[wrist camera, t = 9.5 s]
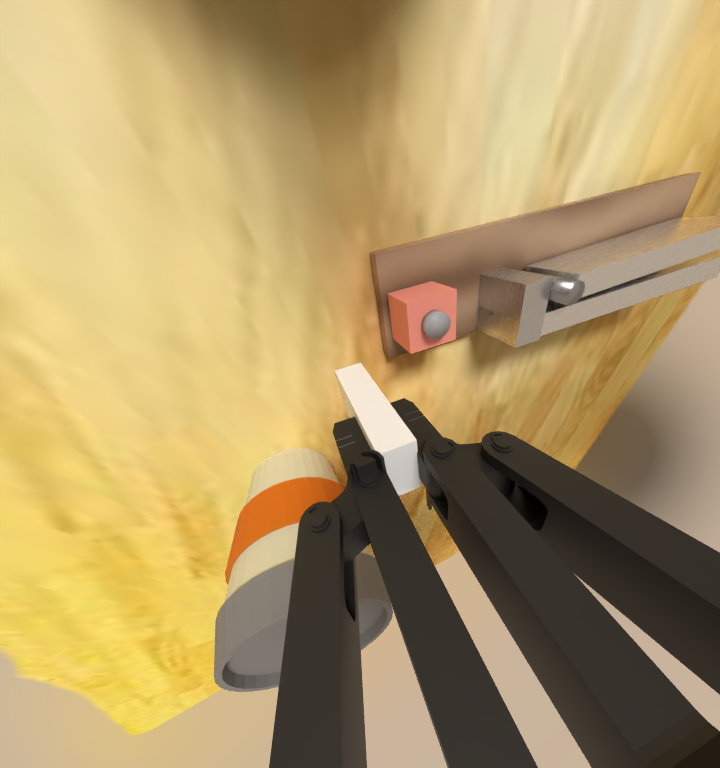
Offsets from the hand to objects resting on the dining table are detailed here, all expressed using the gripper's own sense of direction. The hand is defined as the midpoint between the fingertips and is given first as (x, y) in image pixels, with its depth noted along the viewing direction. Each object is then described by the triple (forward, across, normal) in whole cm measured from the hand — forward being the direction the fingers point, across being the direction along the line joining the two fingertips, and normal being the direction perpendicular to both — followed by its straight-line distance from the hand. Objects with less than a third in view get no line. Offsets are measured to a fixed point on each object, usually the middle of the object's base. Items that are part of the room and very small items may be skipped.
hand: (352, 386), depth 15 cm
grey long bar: (+8, +26, -1) cm, 27 cm away
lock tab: (+8, +8, 0) cm, 11 cm away
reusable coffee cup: (+10, -8, -16) cm, 20 cm away
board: (+9, +22, +1) cm, 24 cm away
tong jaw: (+8, +27, +1) cm, 28 cm away
